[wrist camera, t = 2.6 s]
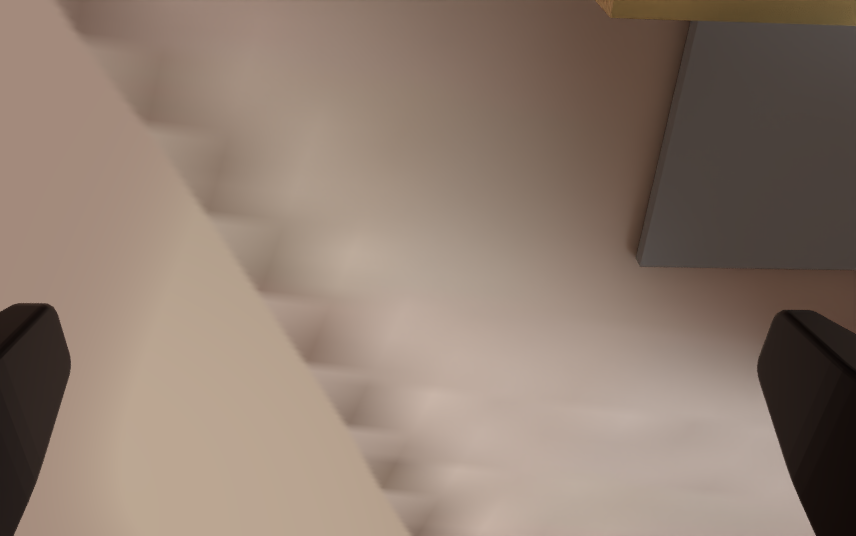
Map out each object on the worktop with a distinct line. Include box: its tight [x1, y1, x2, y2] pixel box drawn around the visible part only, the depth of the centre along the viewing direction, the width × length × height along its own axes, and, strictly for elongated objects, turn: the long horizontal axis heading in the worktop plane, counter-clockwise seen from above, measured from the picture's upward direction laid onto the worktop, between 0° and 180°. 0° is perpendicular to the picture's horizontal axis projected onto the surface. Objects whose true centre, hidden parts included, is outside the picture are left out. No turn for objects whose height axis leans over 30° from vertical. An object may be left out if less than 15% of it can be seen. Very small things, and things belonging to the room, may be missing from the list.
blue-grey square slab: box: [636, 21, 856, 270], centre depth 17 cm, size 7×7×1 cm
